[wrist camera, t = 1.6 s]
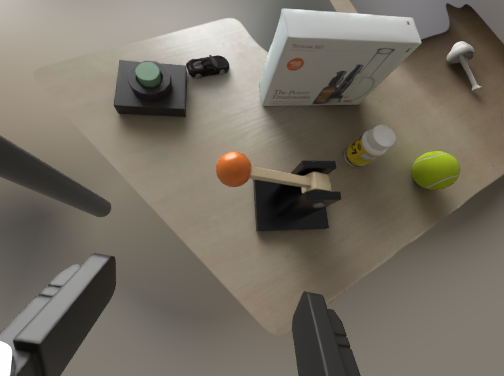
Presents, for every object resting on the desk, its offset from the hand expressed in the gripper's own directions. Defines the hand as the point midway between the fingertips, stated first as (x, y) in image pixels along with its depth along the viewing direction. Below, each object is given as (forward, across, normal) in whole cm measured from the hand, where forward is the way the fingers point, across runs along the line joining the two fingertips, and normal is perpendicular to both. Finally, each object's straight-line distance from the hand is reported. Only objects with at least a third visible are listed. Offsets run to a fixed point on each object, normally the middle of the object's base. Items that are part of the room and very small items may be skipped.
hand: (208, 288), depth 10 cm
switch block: (+39, +17, -2) cm, 42 cm away
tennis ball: (+38, -35, +2) cm, 51 cm away
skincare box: (+45, -12, -7) cm, 47 cm away
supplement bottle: (+38, -22, +1) cm, 44 cm away
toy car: (+44, +9, -8) cm, 46 cm away
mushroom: (+58, -48, -20) cm, 78 cm away
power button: (+36, +17, -4) cm, 40 cm away
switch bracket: (+29, -10, +10) cm, 32 cm away
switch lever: (+19, -4, +2) cm, 20 cm away
